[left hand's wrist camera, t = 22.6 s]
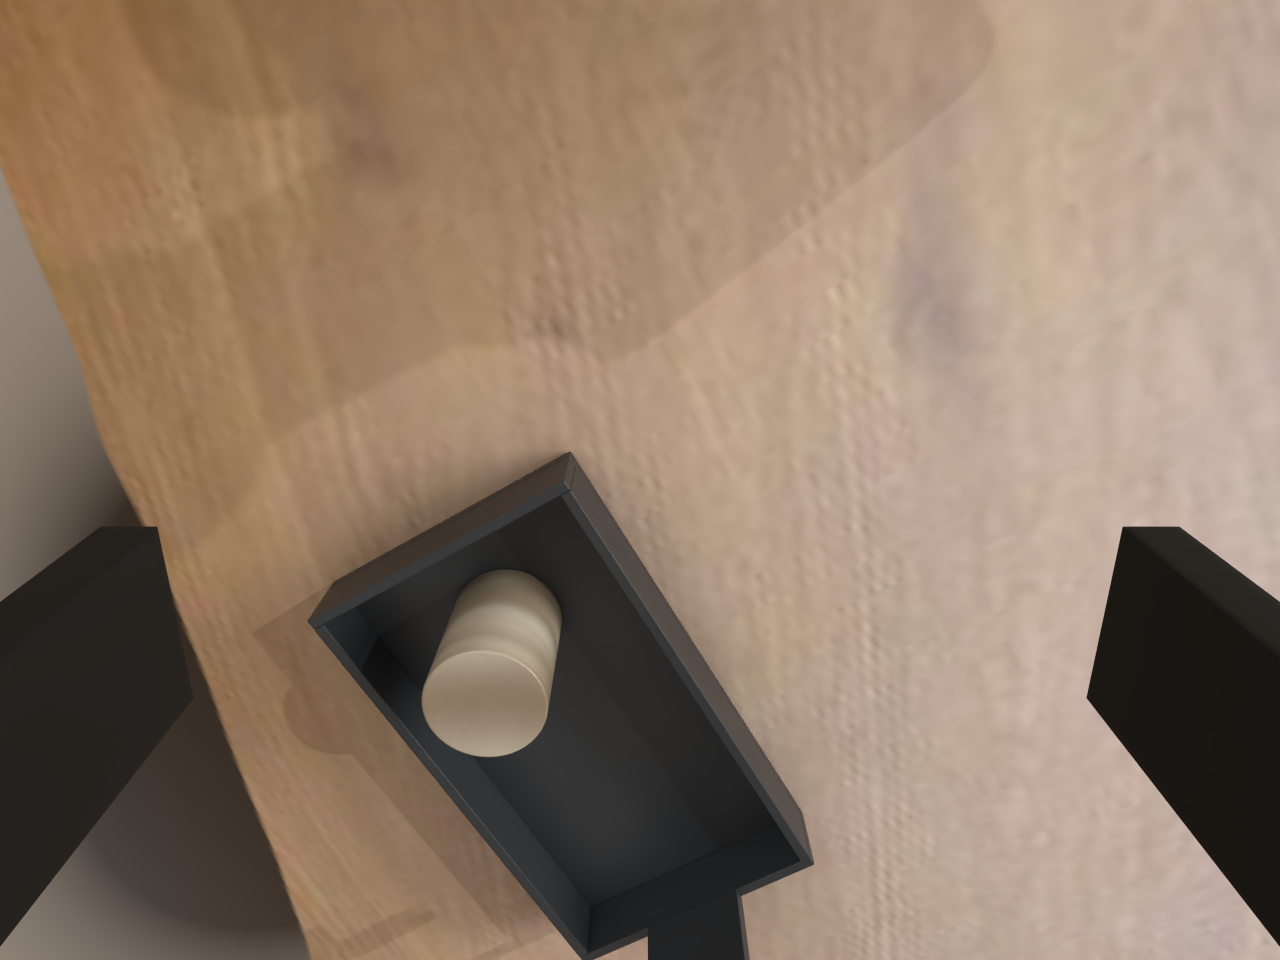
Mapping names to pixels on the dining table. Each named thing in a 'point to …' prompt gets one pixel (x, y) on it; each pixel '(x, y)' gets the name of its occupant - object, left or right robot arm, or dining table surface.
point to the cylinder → (494, 665)
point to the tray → (584, 728)
